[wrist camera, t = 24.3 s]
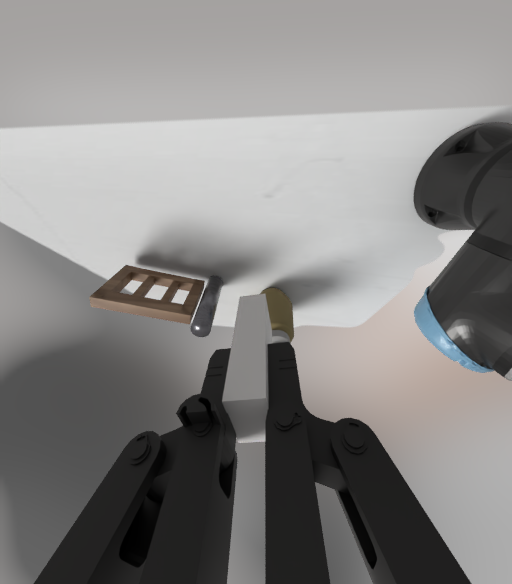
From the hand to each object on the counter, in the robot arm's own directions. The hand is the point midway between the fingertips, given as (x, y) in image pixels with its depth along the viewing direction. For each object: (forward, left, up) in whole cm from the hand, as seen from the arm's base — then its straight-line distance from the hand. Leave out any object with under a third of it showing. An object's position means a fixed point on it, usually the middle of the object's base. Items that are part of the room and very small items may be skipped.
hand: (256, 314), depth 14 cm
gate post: (+8, +15, -31) cm, 35 cm away
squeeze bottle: (-4, +19, -31) cm, 36 cm away
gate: (+18, +13, -29) cm, 36 cm away
